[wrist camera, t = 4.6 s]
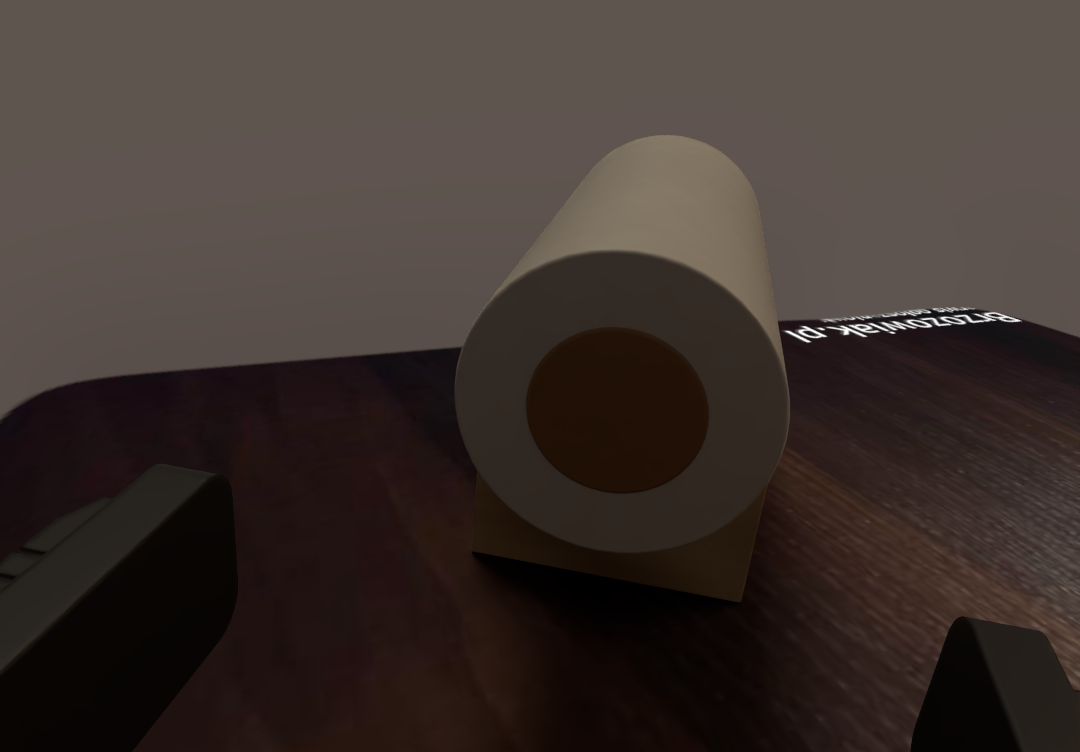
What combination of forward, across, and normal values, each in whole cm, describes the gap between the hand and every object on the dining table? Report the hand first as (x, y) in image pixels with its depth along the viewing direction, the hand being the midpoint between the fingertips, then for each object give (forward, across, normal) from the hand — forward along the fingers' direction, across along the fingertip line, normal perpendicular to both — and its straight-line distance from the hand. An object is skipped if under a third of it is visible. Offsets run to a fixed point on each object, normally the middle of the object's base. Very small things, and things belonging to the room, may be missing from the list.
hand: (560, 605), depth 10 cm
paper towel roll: (+12, 0, 0) cm, 12 cm away
